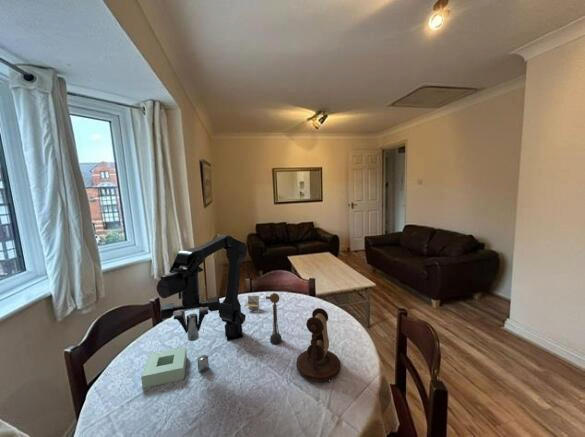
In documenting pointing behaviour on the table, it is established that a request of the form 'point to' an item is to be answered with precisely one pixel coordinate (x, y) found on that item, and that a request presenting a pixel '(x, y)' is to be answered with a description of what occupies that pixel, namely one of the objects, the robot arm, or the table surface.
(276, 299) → the dark grey slender stand
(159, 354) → the hole block
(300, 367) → the dark brown tall piece
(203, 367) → the short pin
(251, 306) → the architectural model
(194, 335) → the long pin
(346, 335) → the table surface
